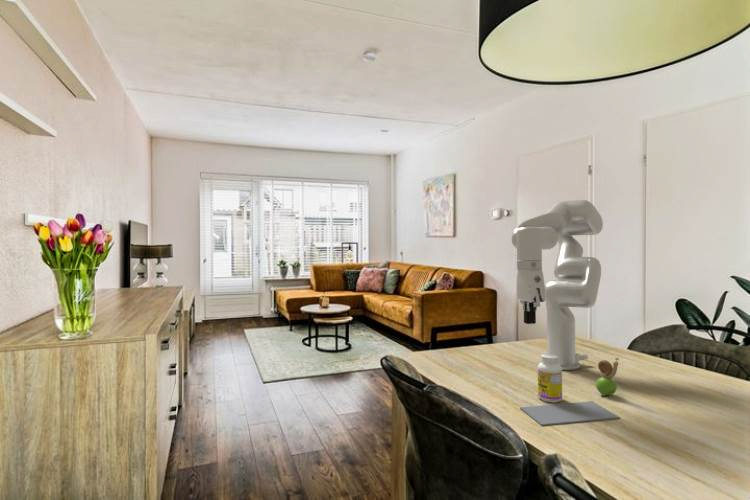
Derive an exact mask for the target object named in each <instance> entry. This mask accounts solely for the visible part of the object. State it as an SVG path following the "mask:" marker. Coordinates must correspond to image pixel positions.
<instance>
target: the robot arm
mask: <svg viewBox="0 0 750 500" xmlns="http://www.w3.org/2000/svg"><path fill="white" fill-rule="evenodd" d="M603 226H604V221H603V218H602V215H601V214H600V213H599V211H598V210H597V208H596V206H595V205H594V204H593V203H592V202H591V201H589V200H588V199H587V200H586V199H576V200H564V201H559V202H557V203H555V204H553V205H552V207H550V208H549V209H548V210H547V211H546V212H545V213H544V214H543V213H542V214H540V215H538V216H535V217H532V218H529V219H526V220H524V221H522V222H521V223H520V224H518V225H517V226H516V228H514V230H513V232H512V234H511V244H512V245H513V247H514V248H515V249H516V270H517V273H516V274H517V275H516V298H517V299H518V300H519V302H520V303H521V304H522V309H523V323H524V324H526V325H533V324H534V325H535V324H536V321H537V317H536V316H537V315H536V314H537V313H536V312H537V308H539V307H541V303H544V302H545V307H546V324H547V325H546V327H547V328H546V331H547V333H546V334H547V335H546V336H547V339H546V341H547V343H546V344H547V354H554V355H557V356H558V364H559V365H560V366H561V367H562V371H574V370H579V369H580V368H581V363H580V361H584V360H585V361H587V360H588V359H589V357H588V355H587V353H586V354H584V353H583V354H580V353H576V319H575V316H574V314H573V312H572V311H571V309H570V308H579V309H581V308H583V309H589V308H592V307H594V305H595V304H596V302H597V298H598V297H597V296H598V293H599V287H600V283H601V277H602V265H601V263H600V261H599V259H597V258H595V257H592V256H583V254H584V248H583V246H582V245H581V243H580V242H579V241H578V240H577V239H576V238H575V237H574V236H595V235H598V234H600V232H602V230H603V228H604V227H603ZM557 244H558V253H557V256H556V260H555V264H554V267H553V268H554V270H553V275H554V277H555V278H556V279H555V280H550V281H548V282H546V283H545V277H544V273H543V250H544V251H545V250H551V249H553V248H554V247H556V245H557Z"/></svg>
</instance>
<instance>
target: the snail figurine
mask: <svg viewBox="0 0 750 500" xmlns="http://www.w3.org/2000/svg"><path fill="white" fill-rule="evenodd" d="M597 367H598V374H599V375H600V377H599V378H598V379H597V380H596V382H595V387H596V390H597V391H598V392H599V393H600V394H601V395H603V396H607V397H608V396H612V395H614V394H615V393H616V391H617V388H618V387H617V384H616V382H615V380H614V379H612V378H614V377H615V376H616V374H617V371H618V367H619V357H615V361H613V363H611V362H609V361H608V360H606V359H602V360H600V361H598V364H597Z"/></svg>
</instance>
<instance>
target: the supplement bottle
mask: <svg viewBox="0 0 750 500" xmlns="http://www.w3.org/2000/svg"><path fill="white" fill-rule="evenodd" d="M540 360H541V362H540V363H539V364H537V397H538V398H539V399H540V400H541V401H543V402H547V403H559V402H561V401H563V370H562V367H561V366H560V365H559V364H558V356H557V355H554V354H548V353H542V354H541V355H540Z"/></svg>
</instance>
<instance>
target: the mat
mask: <svg viewBox="0 0 750 500" xmlns="http://www.w3.org/2000/svg"><path fill="white" fill-rule="evenodd" d="M519 409H520V410H521V411H522V412H523V413H525V414H526V415H527V416H529V418H531V419H532V420H534V421H535V422H536V423H537V424H538V425H539V426H541V427H543V426H544V427H546V426H553V425H554V426H555V425H563V424H565V425H566V424H575V423H586V422H587V423H588V422H596V421H609V420H619V419H621V417H620V416H619V415H617V414H615V413H614V412H612V411H610V410H608V409H607V408H605V407H603V406H601V405H599V404H598V403H596V402H594V401H593V400H592V401H591V400H590V401H578V402H566V403H555V404H545V405H544V404H543V405H533V406H532V405H531V406H520V407H519Z"/></svg>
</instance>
